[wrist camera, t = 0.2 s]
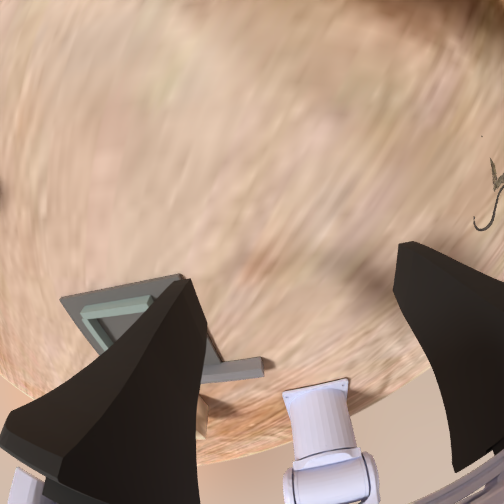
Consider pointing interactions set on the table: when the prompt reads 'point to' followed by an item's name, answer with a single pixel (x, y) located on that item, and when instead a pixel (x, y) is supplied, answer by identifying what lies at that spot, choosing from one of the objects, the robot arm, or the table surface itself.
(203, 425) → the block
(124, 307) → the keeper cradle
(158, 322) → the robot arm
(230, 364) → the rail
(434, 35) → the table surface
